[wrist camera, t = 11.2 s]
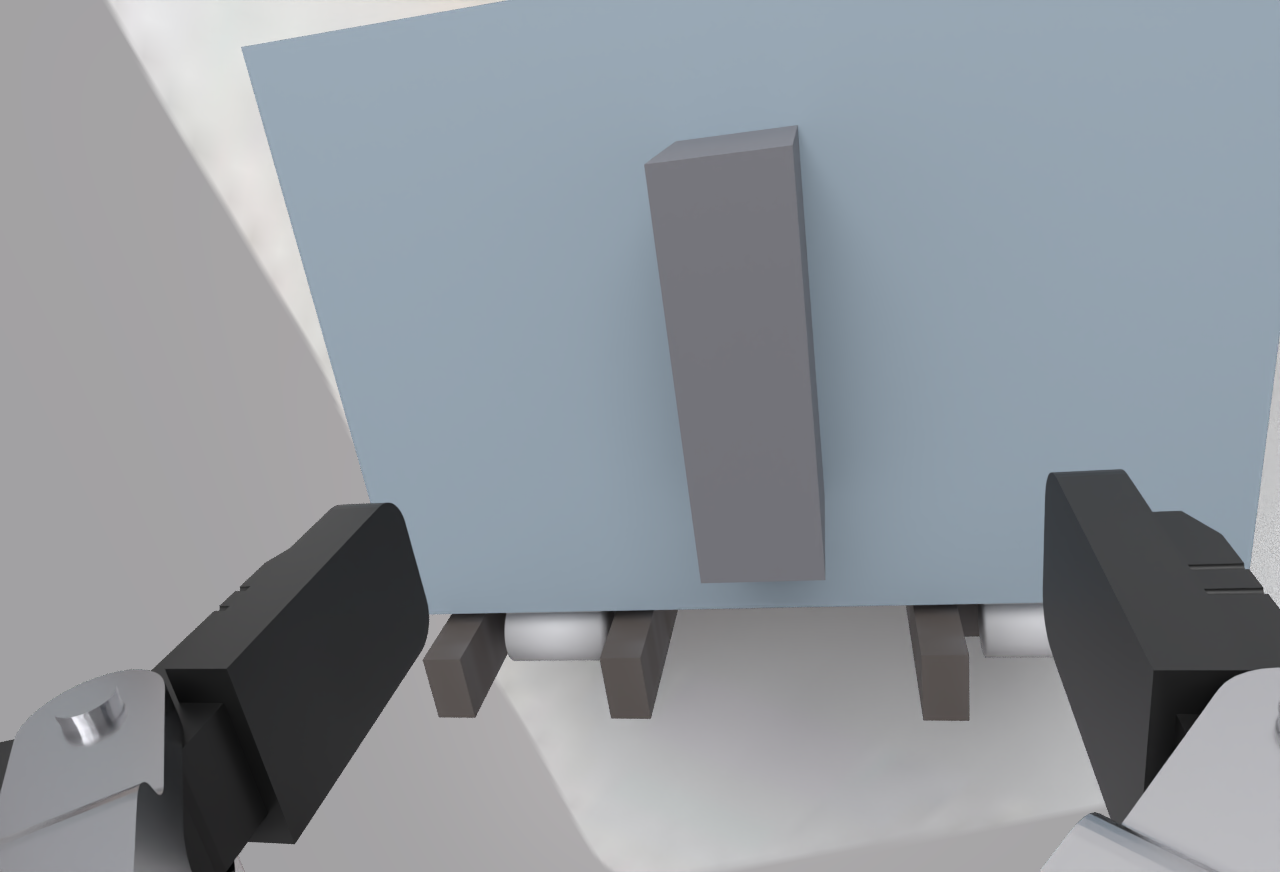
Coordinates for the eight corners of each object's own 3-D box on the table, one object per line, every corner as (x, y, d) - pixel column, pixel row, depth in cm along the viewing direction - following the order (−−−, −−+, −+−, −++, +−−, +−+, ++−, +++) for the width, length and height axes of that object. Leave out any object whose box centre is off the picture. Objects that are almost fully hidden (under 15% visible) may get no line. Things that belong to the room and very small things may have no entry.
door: (1294, -130, 16) (1490, -198, 11) (1209, 628, 22) (1314, 789, 17) (281, 46, 20) (121, 49, 16) (440, 638, 26) (358, 768, 22)
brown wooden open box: (1140, -75, 23) (1378, -155, 13) (1108, 490, 29) (1256, 722, 19) (419, 48, 28) (195, 55, 18) (521, 516, 34) (396, 717, 24)
